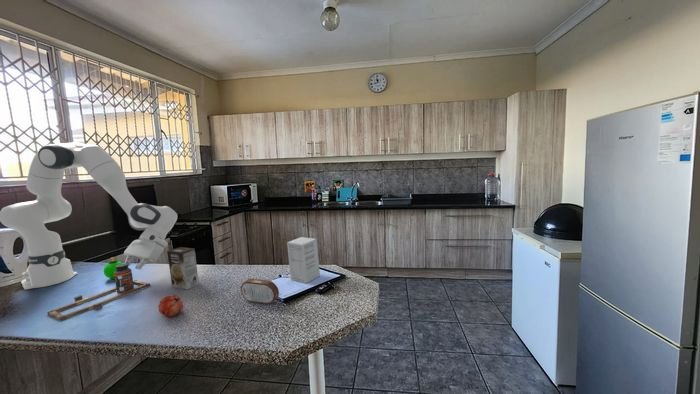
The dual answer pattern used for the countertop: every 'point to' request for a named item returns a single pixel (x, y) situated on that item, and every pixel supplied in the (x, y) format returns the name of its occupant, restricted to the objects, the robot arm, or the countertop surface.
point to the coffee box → (183, 267)
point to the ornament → (111, 268)
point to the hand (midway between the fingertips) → (131, 267)
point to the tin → (259, 291)
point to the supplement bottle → (123, 278)
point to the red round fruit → (170, 305)
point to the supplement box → (303, 259)
